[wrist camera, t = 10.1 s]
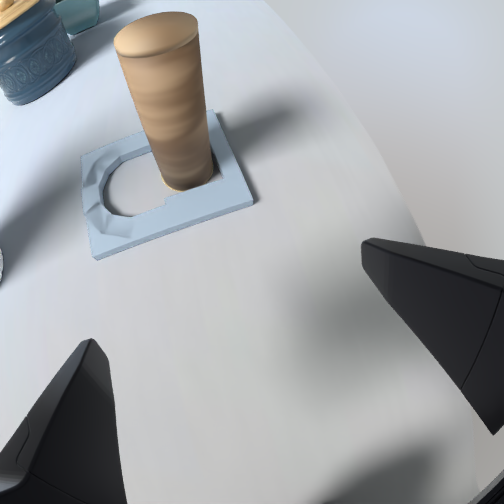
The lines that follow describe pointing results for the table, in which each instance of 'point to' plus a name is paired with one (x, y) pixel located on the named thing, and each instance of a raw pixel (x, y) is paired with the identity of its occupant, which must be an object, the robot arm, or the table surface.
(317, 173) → the table surface
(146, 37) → the tan peg
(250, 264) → the table surface
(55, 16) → the canister
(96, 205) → the keyhole plate
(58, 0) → the flower pot
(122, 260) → the table surface
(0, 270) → the water bottle
